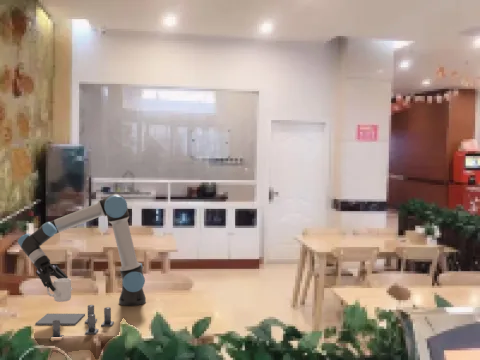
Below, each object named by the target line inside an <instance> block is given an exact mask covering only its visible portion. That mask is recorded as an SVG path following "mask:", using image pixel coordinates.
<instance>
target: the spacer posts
mask: <svg viewBox="0 0 480 360" xmlns="http://www.w3.org/2000/svg"><path fill="white" fill-rule="evenodd" d="M111 309H112V308H111V307H109V306H107V307H104V309H103V311H104V312H103V314H104V315H103V317H104V318H103V320H104V321H103V322H102V323H101V328H102V327H105V328H106V327H107V328H108V327H112V326H113V325H114V324H115V321H113V320H112V310H111ZM97 322H98V318H96V314H95V305H94V304H88V305H87V318H86V319H85V321H84V324H85V325H88V327H87V328H88V329H87V330H86V331H85V332H84V335H97V334H98V332H99V328H96V323H97ZM62 336H64V337H65V335H63V334H61V325H60V320H54V321H53V325H52V336H51V337H62Z"/></svg>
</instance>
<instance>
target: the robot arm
mask: <svg viewBox="0 0 480 360" xmlns="http://www.w3.org/2000/svg"><path fill="white" fill-rule="evenodd" d="M102 216H103V217H106V218H107V221H108V222H107V223H110V224H111V226H112V231H113V234H114V238H115V239H114V240H115V243H116V247H117V251H118V256H119V260H120V263H121V266H120V268H119V271H120V276H121V293H120V294H119V298H118V303H119V304H120V305H121V306H126V307H127V306H128V307H129V306H131V307H132V306H140V305H144V304H145V303H146V295H145V292H144V289H143V287H144V286H145V283H146V279H145V276H144V273H143V269H144V266H143V263H142V262H139V261H138V259H137V255H136V251H135V247H134V242H133V239H132V238H133V237H132V234H131V230H130V225H129V222H128V221H129V218H130V213H129V209H128V203H127V200H126V199H125V197H124V196H123V195H121V194H118V193H112V194H110V195H108V196H107V197H105V198H102V199H100V200H98V202H97V203H95V204H92V205H89V206H85V207H84V208H82V209H79V210H76V211H74V212H71V213H69V214H66V215H63V216H62V217H58V218H56V219H54V220H51V221H46V222H45V223H43V224H42V225H40V227H39V228H38V229H37V230H36V231H35V230H34V232H33V233H32V234H30V233H25V234H23V235H21V236H20V237H19V238H18V239H17V244H18V245H19V247H20V249H21V250H22V251H23V252H24V253H25V255H26V256H27V258H29V260H30V261H31V263H32V264H33V265H34V267H35V268H36V271H35V273H36V275H38V277H39V279H40V281H41V283H42V284H43V286H44V287H45V288H46V289H47V288H49V290H51V291H52V292H53V294H54V293H55V295H56V296H57V297H58V296H59V295H60V294H61V292H60V291H59V290H58V288H57V287H56V286H55V284H52V283H53V281H52V279H51V276H54V277H55V278H56V279H61V278H68V279H69V276H68V275H67V274H66V273H65V272H64V270H62V269H61V268H60V267H59V266H58V264H56V263H55V264H52V263H51V260H50V258H49V257H48V255H47V254H46V253H45V251H44V250H43V249H42V248H41V246H42V245H43V244H44V243H45V242H47V241H48V240H50V239H51V238H52V237H54V236H55V235H56V234H58V233H62V232H64V231H67V230H69V229H72V228H75V227H76V226H80V225H82V224H85V223H88V222H90V221H92V220H94V219H97V218H99V217H102ZM72 291H73V287H72V286H71V292H72Z"/></svg>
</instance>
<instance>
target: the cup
mask: <svg viewBox="0 0 480 360" xmlns="http://www.w3.org/2000/svg"><path fill="white" fill-rule="evenodd" d="M52 284H55V286H56V287H57V288H58V290H59V291H60V292H61V294H60V295H59V296H58V297H57V296H56V295H55V293H54V292H53V293H51V292H50V288H47V287H46V292H47V293H46V294H47V295H48V296H49V297H53V300H54V301H55V302H58V303H60V302H61V303H63V302H68V301H70V300H71V298H72V291H71V287H72V279H71V278H69V277H68V278H61V279H58V278H56V279H54V280H53V282H52Z"/></svg>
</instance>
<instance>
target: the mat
mask: <svg viewBox="0 0 480 360" xmlns="http://www.w3.org/2000/svg"><path fill="white" fill-rule="evenodd" d="M85 316H86V313H45V315H43V317H41V318H40V319H39V320H37V321H36V322H35V323H34V325H35V326H53V321H54V320H60V326H76V325H77V324H78V323H80V321H81V320H82V319H83V318H84V317H85Z"/></svg>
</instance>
